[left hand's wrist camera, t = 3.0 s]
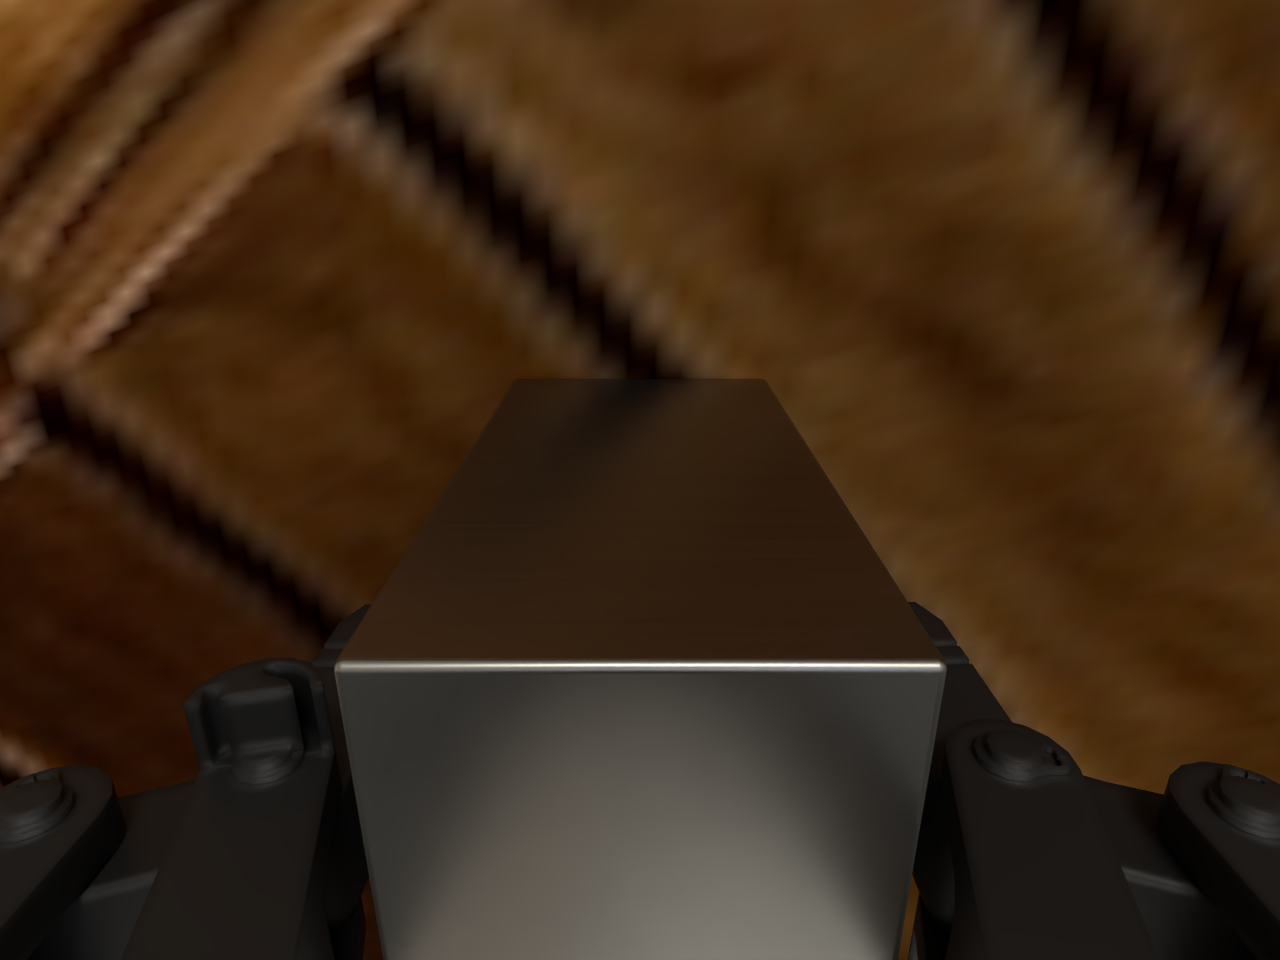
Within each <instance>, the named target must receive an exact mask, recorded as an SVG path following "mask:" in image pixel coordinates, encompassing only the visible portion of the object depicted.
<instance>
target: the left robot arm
mask: <svg viewBox="0 0 1280 960" xmlns="http://www.w3.org/2000/svg"><path fill="white" fill-rule="evenodd" d="M908 604H909V605H910V607H911V608H912V610H913V611H914V613H915V615H916V616H917V618H918V619H919V621H920V622H921V624H922V625H923V627H924V629H925V630H926V632H927V633H928V635H929V636H930V638H931V640H932V641H933V643H934V644H935V646H936V647H937V649H938V650H939V652H940V654H941V655H942V657H943V658H944V660H945V663H946V666H947V671H946V678H945V683H944V689H943V695H942V701H941V707H940V713H939V719H938V724H937V730H936V736H935V742H934V748H933V754H932V760H931V766H930V771H929V777H928V783H927V789H926V795H925V801H924V807H923V812H922V818H921V824H920V830H919V836H918V842H917V848H916V853H915V859H914V865H913V871H912V874H913V877H914V879H915V882H916V885H917V887H918V890H919V892H920V893H919V898H918V904H917V909H916V915H915V921H914V926H913V932H912V938H911V943H910V949H909V955H908V960H1280V784H1278V783H1276V782H1274V781H1272V780H1270V779H1268V778H1266V777H1264V776H1263V775H1260V774H1257V773H1255V772H1252V771H1249V770H1248V771H1247V770H1244V769H1242V768H1238V767H1235V766H1232V765H1226V764H1218V763H1209V762H1198V763H1192V764H1186V765H1181V766H1180V767H1179V768H1178V769H1177V770H1175V771H1174V772H1173V773H1172V774H1171V775H1170V777H1169V780H1168V783H1167V787H1166V790H1165V793H1164V795H1163V794H1158V793H1154V792H1149V791H1145V790H1140V789H1136V788H1131V787H1127V786H1122V785H1117V784H1113V783H1108V782H1104V781H1101V780H1097V779H1094V778H1090V777H1087V776H1083V775H1082V772H1081V770H1080V768H1079V767H1078V765H1077V764H1076V763H1075V761H1074V760H1073V758H1072V757H1071V755H1070V754H1069V753H1068V752H1067V751H1066V750H1065V749H1063V748H1062V747H1061V746H1060V745H1058V744H1057V743H1056V742H1054V741H1053V740H1052V739H1051V738H1049V737H1048V736H1045V735H1043V734H1041V733H1039V732H1037V731H1035V730H1033V729H1031V728H1028V727H1026V726H1024V725H1020V724H1016V723H1012V721H1011V720H1010V719H1009V717H1008V716H1007V714H1006V713H1005V711H1004V710H1003V708H1002V707H1001V706H1000V704H999V703H998V701H997V700H996V698H995V697H994V695H993V694H992V692H991V691H990V690H989V688H988V687H987V685H986V684H985V682H984V681H983V679H982V678H981V677H980V675H979V674H978V672H977V671H976V669H975V668H974V666H973V665H972V664H969V659H968V658H967V656H966V655H965V653H964V652H963V650H962V649H961V648H960V646H957V642H956V640H955V639H954V637H953V636H952V635H951V633H950V632H949V630H948V629H947V627H946V626H945V624H944V623H943V621H942V620H940V619H939V618H937V617H936V616H935V615H933V614H932V613H930V612H929V611H927V610H926V609H924V608H923V607H922V606H920V605H919V604H917V603H916V602H908ZM370 606H371V605H364V606H363V607H361V608H360V609H358V610H357V611H356V612H354V613H353V614H351V615H350V616H348V617H347V618H346V619H344V620H343V621H341V622H340V623H339V624H338V625H337V627H336V628H335V630H334V631H333V633H332V634H331V636H330V637H329V638H328V640H327V641H326V643H325V644H324V649H321V650H320V652H319V653H318V655H317V656H316V657H315V659H314V660H313V662H312V664H311V663H309V662H305V661H301V660H297V659H293V658H274V659H264V660H259V661H255V662H250V663H246V664H241V665H239V666H237V667H234V668H232V669H229V670H227V671H224V672H222V673H220V674H217V675H215V676H214V677H212V678H211V679H210V680H208V681H207V682H205V683H204V684H202V685H201V686H199V687H198V688H196V689H195V690H194V692H193V693H192V694H191V695H190V696H189V698H188V699H187V700H186V701H185V703H184V704H183V707H184V710H185V714H186V718H187V722H188V726H189V730H190V734H191V738H192V741H193V745H194V749H195V753H196V757H197V761H198V765H199V768H200V771H199V774H198V776H197V778H196V779H195V780H191V781H188V782H184V783H181V784H177V785H173V786H169V787H164V788H160V789H155V790H151V791H146V792H142V793H137V794H133V795H128V796H124V797H119V798H118V797H117V794H116V791H115V788H114V784H113V781H112V778H111V777H109V776H108V775H107V774H106V773H105V772H104V771H102V770H101V769H100V768H94V767H89V766H83V765H75V766H66V767H58V768H51V769H48V770H45V771H41V772H38V773H35V774H31V775H28V776H26V777H23V778H20V779H18V780H16V781H14V782H12V783H10V784H8V785H6V786H4V787H2V788H0V960H363V951H364V941H365V932H366V924H365V917H364V910H363V904H362V898H361V895H362V892H363V890H364V887H365V885H366V882H367V880H368V877H369V872H368V867H367V861H366V855H365V849H364V843H363V837H362V831H361V825H360V819H359V814H358V808H357V802H356V796H355V790H354V784H353V778H352V772H351V767H350V761H349V755H348V749H347V743H346V737H345V731H344V725H343V719H342V714H341V708H340V702H339V696H338V690H337V684H336V678H335V672H334V666H335V662H336V660H337V658H338V657H339V655H340V653H341V652H342V650H343V649H344V647H345V646H346V644H347V642H348V641H349V639H350V638H351V636H352V635H353V633H354V631H355V630H356V628H357V627H358V625H359V624H360V622H361V620H362V619H363V617H364V616H365V614H366V613H367V611H368V609H369V608H370Z"/></svg>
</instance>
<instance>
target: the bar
mask: <svg viewBox="0 0 1280 960" xmlns="http://www.w3.org/2000/svg"><path fill="white" fill-rule="evenodd" d="M946 671H947V666H946V663H945V660H944V658H943V657H942V655H941V654H940V652H939V650H938V649H937V647H936V646H935V644H934V643H933V641H932V640H931V638H930V636H929V635H928V633H927V632H926V630H925V629H924V627H923V625H922V624H921V622H920V621H919V619H918V618H917V616H916V615H915V613H914V611H913V610H912V608H911V607H910V605H909V604H908V602H907V600H906V599H905V597H904V596H903V594H902V593H901V591H900V590H899V588H898V586H897V585H896V583H895V582H894V580H893V579H892V577H891V575H890V574H889V572H888V571H887V569H886V568H885V566H884V565H883V563H882V561H881V560H880V558H879V557H878V555H877V554H876V552H875V550H874V549H873V547H872V546H871V544H870V543H869V541H868V540H867V538H866V536H865V535H864V533H863V532H862V530H861V529H860V527H859V525H858V524H857V522H856V521H855V519H854V518H853V516H852V515H851V513H850V511H849V510H848V508H847V507H846V505H845V504H844V502H843V501H842V499H841V497H840V496H839V494H838V493H837V491H836V490H835V488H834V486H833V485H832V483H831V482H830V480H829V479H828V477H827V476H826V474H825V472H824V471H823V469H822V468H821V466H820V465H819V463H818V461H817V460H816V458H815V457H814V455H813V454H812V452H811V451H810V449H809V447H808V446H807V444H806V443H805V441H804V440H803V438H802V436H801V435H800V433H799V432H798V430H797V429H796V427H795V426H794V424H793V422H792V421H791V419H790V418H789V416H788V415H787V413H786V411H785V410H784V408H783V407H782V405H781V404H780V402H779V401H778V399H777V397H776V396H775V394H774V393H773V391H772V390H771V388H770V386H769V385H768V383H767V382H766V380H763V379H517V380H515V381H514V382H513V384H512V385H511V387H510V389H509V390H508V392H507V393H506V395H505V396H504V398H503V400H502V401H501V403H500V404H499V406H498V407H497V409H496V411H495V412H494V414H493V415H492V417H491V418H490V420H489V421H488V423H487V425H486V426H485V428H484V429H483V431H482V432H481V434H480V436H479V437H478V439H477V440H476V442H475V443H474V445H473V447H472V448H471V450H470V451H469V453H468V454H467V456H466V458H465V459H464V461H463V462H462V464H461V465H460V467H459V468H458V470H457V472H456V473H455V475H454V476H453V478H452V479H451V481H450V483H449V484H448V486H447V487H446V489H445V490H444V492H443V494H442V495H441V497H440V498H439V500H438V501H437V503H436V505H435V506H434V508H433V509H432V511H431V512H430V514H429V515H428V517H427V519H426V520H425V522H424V523H423V525H422V526H421V528H420V530H419V531H418V533H417V534H416V536H415V537H414V539H413V541H412V542H411V544H410V545H409V547H408V548H407V550H406V552H405V553H404V555H403V556H402V558H401V559H400V561H399V562H398V564H397V566H396V567H395V569H394V570H393V572H392V573H391V575H390V577H389V578H388V580H387V581H386V583H385V584H384V586H383V588H382V589H381V591H380V592H379V594H378V595H377V597H376V599H375V600H374V602H373V603H372V605H371V606H370V608H369V609H368V611H367V613H366V614H365V616H364V617H363V619H362V620H361V622H360V624H359V625H358V627H357V628H356V630H355V631H354V633H353V635H352V636H351V638H350V639H349V641H348V642H347V644H346V646H345V647H344V649H343V650H342V652H341V653H340V655H339V657H338V658H337V660H336V662H335V666H334V672H335V678H336V684H337V690H338V696H339V702H340V708H341V714H342V719H343V725H344V731H345V737H346V743H347V749H348V755H349V761H350V767H351V772H352V778H353V784H354V790H355V796H356V802H357V808H358V814H359V819H360V825H361V831H362V837H363V843H364V849H365V855H366V861H367V867H368V872H369V878H370V884H371V890H372V896H373V902H374V908H375V914H376V919H377V925H378V931H379V937H380V943H381V949H382V955H383V960H897V959H898V953H899V947H900V941H901V936H902V930H903V924H904V918H905V912H906V906H907V900H908V895H909V889H910V883H911V877H912V871H913V865H914V859H915V853H916V848H917V842H918V836H919V830H920V824H921V818H922V812H923V807H924V801H925V795H926V789H927V783H928V777H929V771H930V766H931V760H932V754H933V748H934V742H935V736H936V730H937V724H938V719H939V713H940V707H941V701H942V695H943V689H944V683H945V678H946Z"/></svg>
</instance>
